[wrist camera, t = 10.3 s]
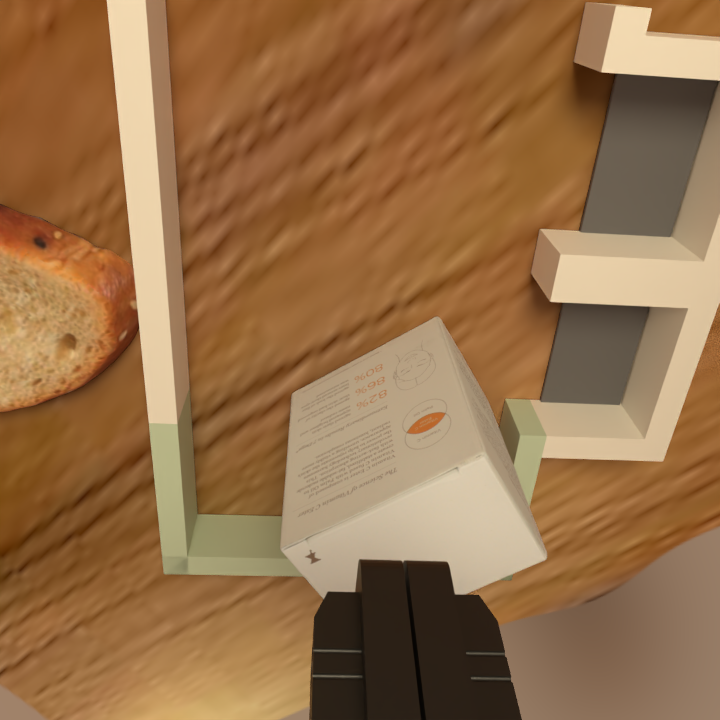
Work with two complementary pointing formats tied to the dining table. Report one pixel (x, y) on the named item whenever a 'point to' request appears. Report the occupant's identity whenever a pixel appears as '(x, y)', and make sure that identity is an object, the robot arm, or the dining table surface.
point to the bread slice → (58, 310)
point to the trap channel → (550, 270)
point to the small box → (403, 470)
